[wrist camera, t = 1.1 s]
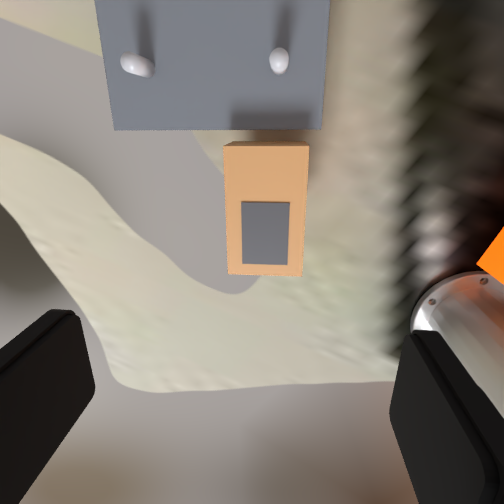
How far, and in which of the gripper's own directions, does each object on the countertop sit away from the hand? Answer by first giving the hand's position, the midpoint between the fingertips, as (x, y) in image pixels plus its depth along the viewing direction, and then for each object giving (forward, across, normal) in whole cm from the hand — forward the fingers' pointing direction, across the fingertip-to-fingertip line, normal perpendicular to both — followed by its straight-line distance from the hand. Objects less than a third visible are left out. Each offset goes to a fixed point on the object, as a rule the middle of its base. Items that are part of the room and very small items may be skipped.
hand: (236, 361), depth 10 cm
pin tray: (+20, +4, -14) cm, 25 cm away
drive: (+22, 0, 0) cm, 22 cm away
